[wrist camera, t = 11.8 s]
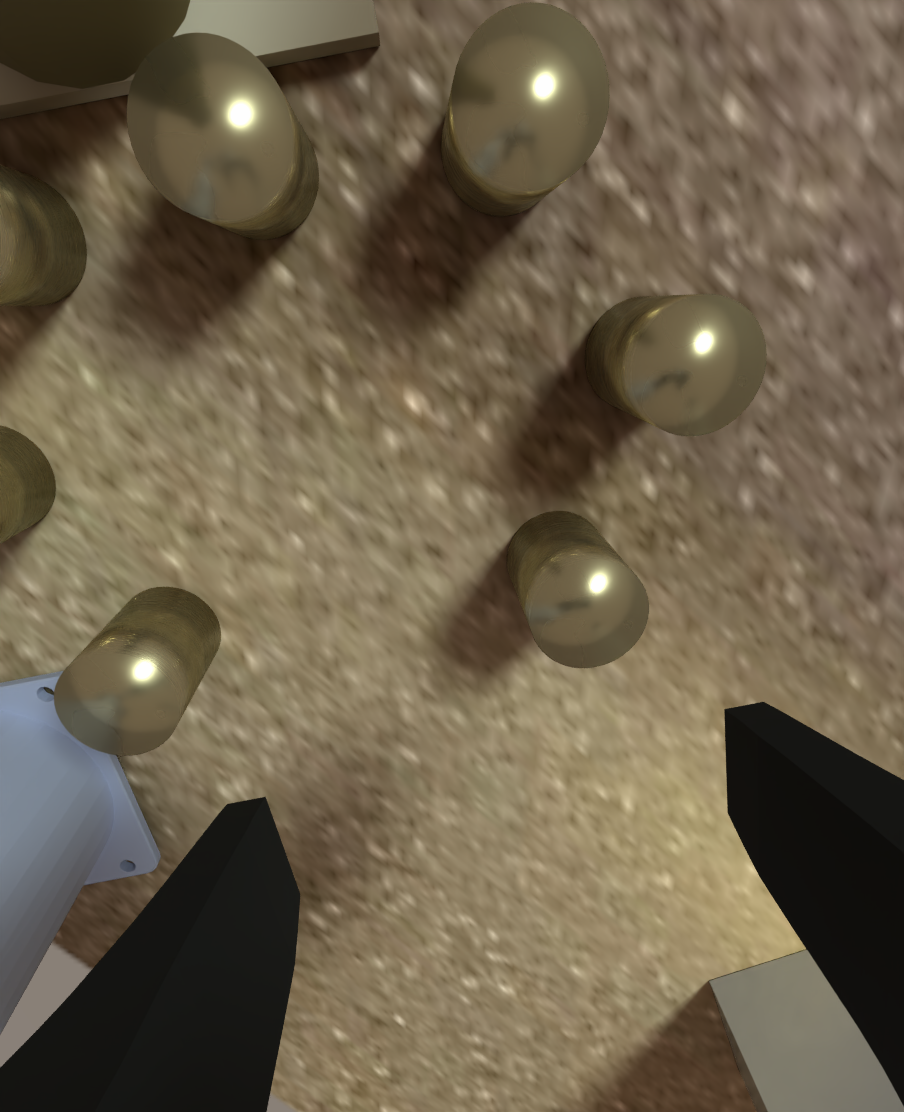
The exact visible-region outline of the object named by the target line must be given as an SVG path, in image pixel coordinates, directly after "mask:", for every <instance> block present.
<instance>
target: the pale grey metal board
mask: <svg viewBox="0 0 904 1112" xmlns="http://www.w3.org/2000/svg"><path fill="white" fill-rule="evenodd" d="M195 32H198V33H210V34H215V35H219V36H222V37H225V38H228V39H230V40H232V41H234V42H236V43H238V44H240V45H241V46H243V47H244V48H246V49H247V50H249V51H250V52H251V53H252V54H253V55H255V56H256V57H257V58H258V59H259V60H260V61H261V62H262V63H263V64H264V66H265V67H266V68H268V67H273V66H278V65H283V64H288V63H293V62H299V61H304V60H309V59H314V58H319V57H324V56H330V55H335V54H340V53H345V52H350V51H355V50H361V49H366V48H371V47H376V46H380V40H379V31H378V26H377V20H376V14H375V9H374V3H373V0H190V3H189V7H188V11H187V14H186V18H185V20H184V21H183V23H182V24H181V26H180V27H179V29H178V30H177V31H176V33H175V34H174V36H178V35H181V34H186V33H195ZM174 36H173V37H174ZM134 75H135V73H134V74H133V75H131V76H130V77H128V78H127V79H125V80H123V81H119V82H114V83H109V84H104V85H99V86H94V87H89V88H85V89H79V88H73V87H67V86H61V85H55V84H49V83H43V82H37V81H35V80H33V79H31V78H29V77H27V76H25V75H23V74H21V73H19V72H17V71H15V70H13V69H11V68H9V67H7V66H5V65H4V64H2V63H0V119H4V118H9V117H14V116H20V115H25V114H30V113H35V112H40V111H45V110H51V109H56V108H61V107H66V106H71V105H76V104H82V103H87V102H92V101H97V100H102V99H107V98H113V97H118V96H123V95H128V94H129V90H130V86H131V83H132V80H133V78H134Z"/></svg>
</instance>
